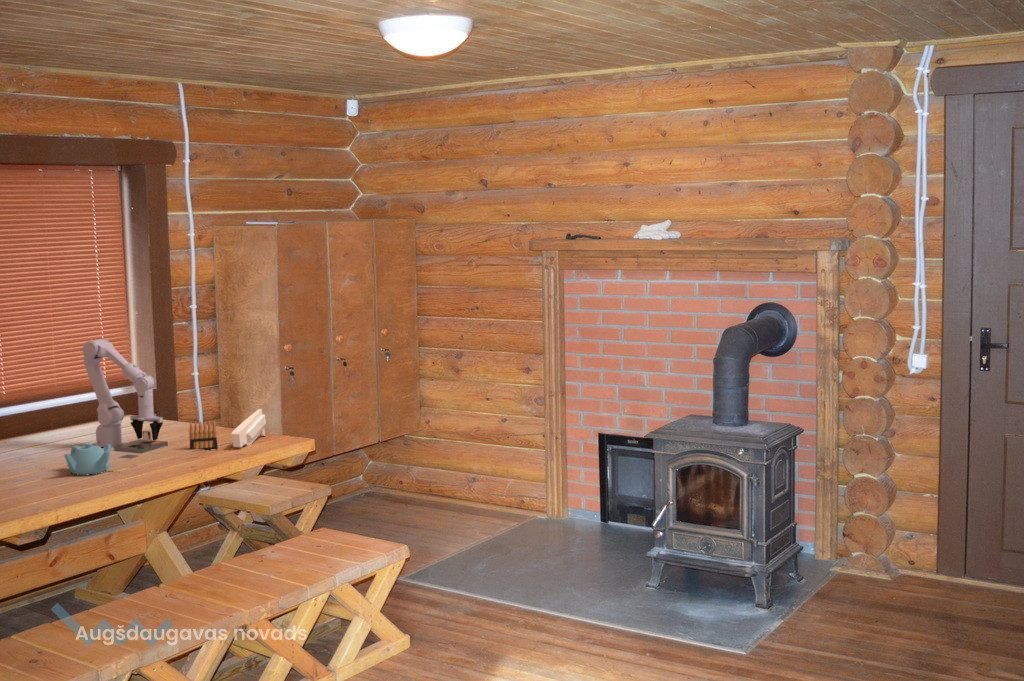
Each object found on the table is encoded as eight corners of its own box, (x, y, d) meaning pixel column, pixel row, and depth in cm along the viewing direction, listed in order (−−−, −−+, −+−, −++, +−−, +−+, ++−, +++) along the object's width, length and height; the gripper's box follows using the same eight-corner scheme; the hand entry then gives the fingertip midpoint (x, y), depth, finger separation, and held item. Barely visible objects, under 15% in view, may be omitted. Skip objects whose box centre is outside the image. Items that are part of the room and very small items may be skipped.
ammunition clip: (217, 448, 423) (216, 419, 421) (217, 449, 421) (216, 420, 420) (189, 451, 419) (188, 421, 417) (190, 452, 417) (188, 422, 416)
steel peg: (141, 448, 423) (141, 431, 422) (146, 447, 426) (145, 430, 425) (148, 449, 422) (148, 432, 421) (153, 447, 425) (152, 430, 425)
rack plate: (114, 452, 416) (113, 446, 416) (139, 445, 430) (139, 438, 430) (142, 455, 411) (142, 449, 411) (167, 447, 425) (167, 441, 425)
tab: (118, 459, 404) (118, 457, 404) (127, 457, 409) (127, 454, 409) (131, 461, 402) (131, 458, 402) (140, 458, 407) (139, 455, 407)
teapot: (114, 465, 396) (113, 437, 394) (110, 475, 381) (108, 445, 380) (71, 468, 392) (69, 440, 390) (65, 478, 377) (63, 448, 376)
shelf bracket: (269, 436, 446) (266, 409, 442) (245, 461, 423) (241, 433, 419) (257, 436, 447) (254, 408, 443) (232, 461, 424) (228, 432, 420)
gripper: (124, 406, 421) (126, 439, 423) (154, 408, 416) (155, 442, 418) (136, 403, 428) (137, 436, 429) (165, 405, 423) (167, 438, 424)
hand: (147, 439), depth 424 cm, fingers open, 7 cm apart
